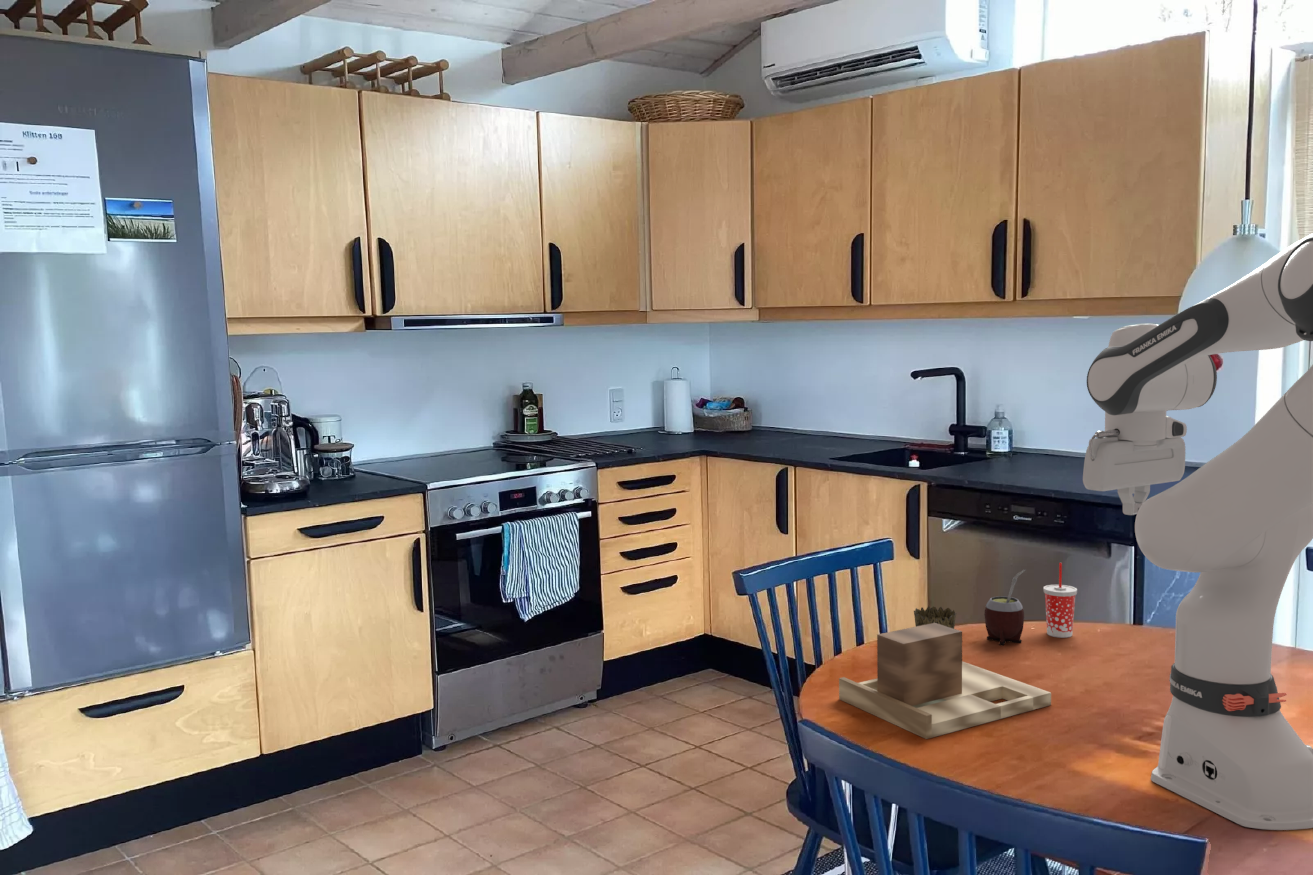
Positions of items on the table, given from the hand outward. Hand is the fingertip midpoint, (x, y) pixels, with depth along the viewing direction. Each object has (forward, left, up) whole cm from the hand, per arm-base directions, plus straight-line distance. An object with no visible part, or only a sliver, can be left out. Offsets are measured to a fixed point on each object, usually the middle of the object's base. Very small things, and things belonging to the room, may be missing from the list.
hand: (1133, 513), depth 169 cm
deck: (+2, +31, -29) cm, 43 cm away
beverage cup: (+32, -6, -29) cm, 44 cm away
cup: (+26, +22, -29) cm, 45 cm away
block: (+1, +36, -27) cm, 45 cm away
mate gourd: (+30, +6, -29) cm, 42 cm away
